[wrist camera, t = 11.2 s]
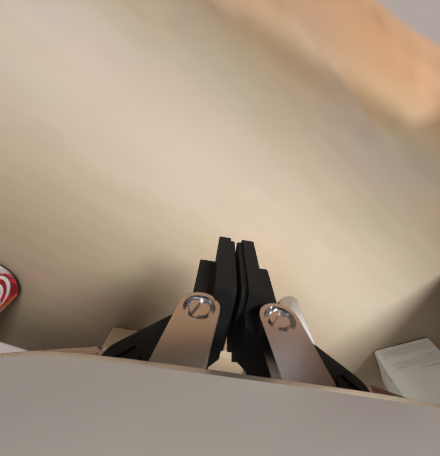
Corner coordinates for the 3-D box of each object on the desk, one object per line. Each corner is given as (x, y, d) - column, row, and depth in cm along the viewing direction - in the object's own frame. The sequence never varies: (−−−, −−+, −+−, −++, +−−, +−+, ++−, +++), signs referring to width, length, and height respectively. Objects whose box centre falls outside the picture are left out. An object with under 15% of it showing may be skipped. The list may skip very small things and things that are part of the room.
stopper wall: (113, 327, 32) (102, 345, 29) (291, 352, 33) (297, 373, 30) (113, 335, 32) (102, 354, 30) (288, 360, 33) (294, 380, 30)
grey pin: (281, 295, 28) (301, 356, 21) (299, 298, 29) (326, 360, 21) (276, 309, 29) (294, 373, 22) (294, 312, 30) (318, 376, 22)
